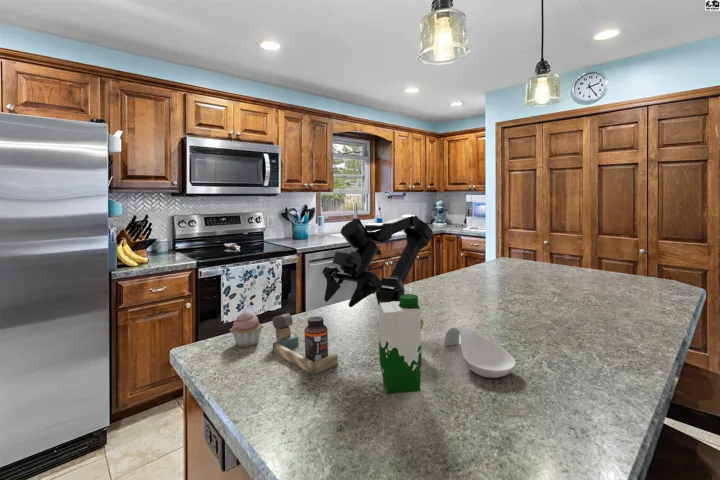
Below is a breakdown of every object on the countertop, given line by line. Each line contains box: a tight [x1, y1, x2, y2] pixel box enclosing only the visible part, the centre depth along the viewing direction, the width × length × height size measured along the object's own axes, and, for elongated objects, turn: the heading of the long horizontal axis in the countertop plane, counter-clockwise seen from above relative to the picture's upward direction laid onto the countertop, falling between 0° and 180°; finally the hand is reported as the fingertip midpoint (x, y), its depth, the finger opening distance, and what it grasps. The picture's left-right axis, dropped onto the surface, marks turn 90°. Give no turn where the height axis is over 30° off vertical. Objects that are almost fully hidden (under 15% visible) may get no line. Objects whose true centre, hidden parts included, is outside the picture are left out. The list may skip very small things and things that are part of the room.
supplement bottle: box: [304, 315, 329, 362], centre depth 95 cm, size 6×6×11 cm
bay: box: [272, 335, 339, 375], centre depth 97 cm, size 19×8×2 cm, turn 42°
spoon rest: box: [443, 325, 517, 379], centre depth 92 cm, size 24×12×7 cm, turn 16°
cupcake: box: [229, 309, 264, 348], centre depth 108 cm, size 9×9×10 cm
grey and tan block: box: [272, 311, 293, 342], centre depth 107 cm, size 4×5×9 cm
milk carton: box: [378, 293, 422, 394], centre depth 81 cm, size 9×9×20 cm
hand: (337, 303), depth 100 cm, fingers open, 9 cm apart
